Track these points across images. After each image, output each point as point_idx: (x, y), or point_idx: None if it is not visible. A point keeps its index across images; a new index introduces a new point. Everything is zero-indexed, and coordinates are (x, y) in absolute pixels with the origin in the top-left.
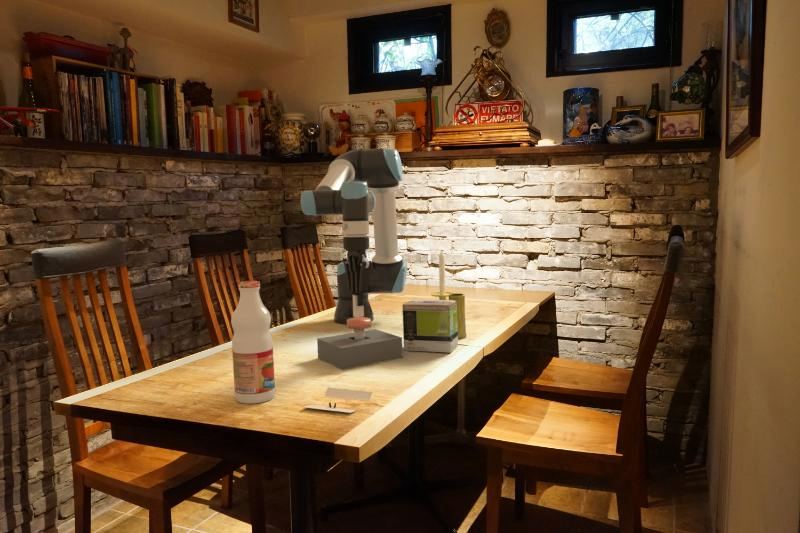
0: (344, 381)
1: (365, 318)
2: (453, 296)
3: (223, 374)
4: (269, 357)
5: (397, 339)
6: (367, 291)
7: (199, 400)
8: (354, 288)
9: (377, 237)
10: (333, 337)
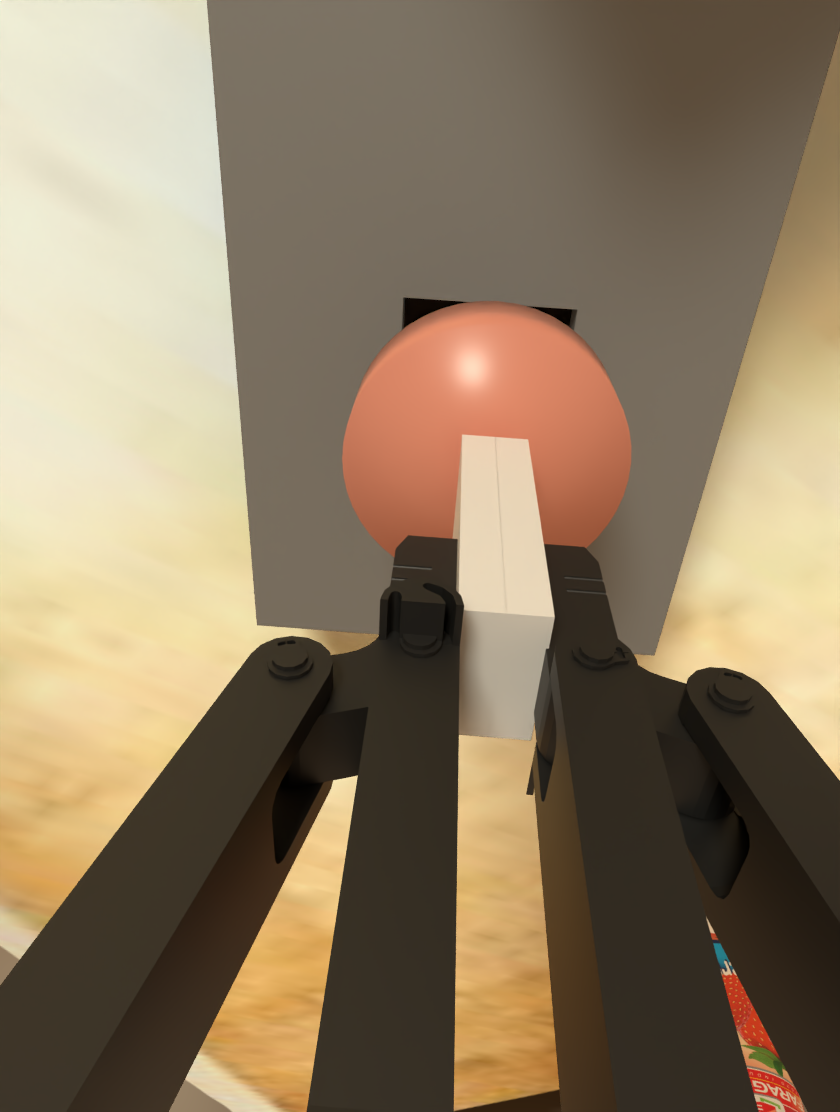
0: (817, 662)
1: (488, 375)
2: None
3: (285, 901)
4: (802, 1108)
5: (821, 77)
6: (766, 698)
7: (540, 1014)
8: (361, 737)
9: None
10: (303, 529)
